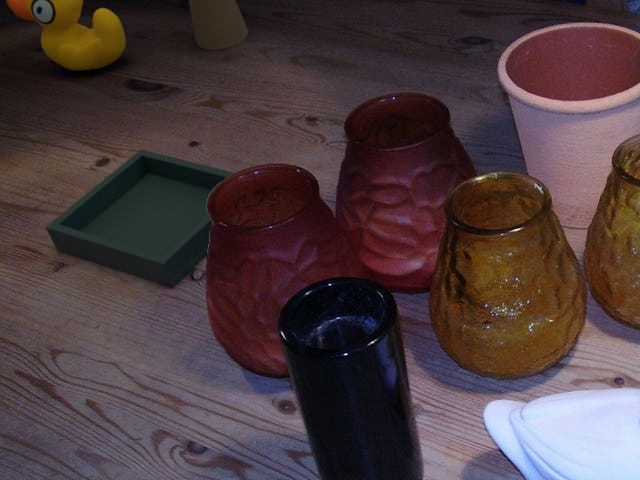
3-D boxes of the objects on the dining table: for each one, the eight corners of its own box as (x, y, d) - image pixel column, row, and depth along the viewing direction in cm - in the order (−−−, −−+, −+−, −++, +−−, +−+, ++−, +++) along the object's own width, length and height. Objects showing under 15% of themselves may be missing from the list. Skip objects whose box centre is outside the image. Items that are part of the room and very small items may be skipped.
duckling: (29, 82, 111) (-11, -4, 104) (47, 57, 115) (9, -27, 108) (126, 76, 110) (92, -11, 103) (141, 52, 114) (109, -34, 107)
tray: (56, 250, 89) (45, 227, 87) (150, 171, 96) (140, 148, 94) (173, 287, 84) (162, 263, 82) (262, 201, 91) (254, 177, 89)
